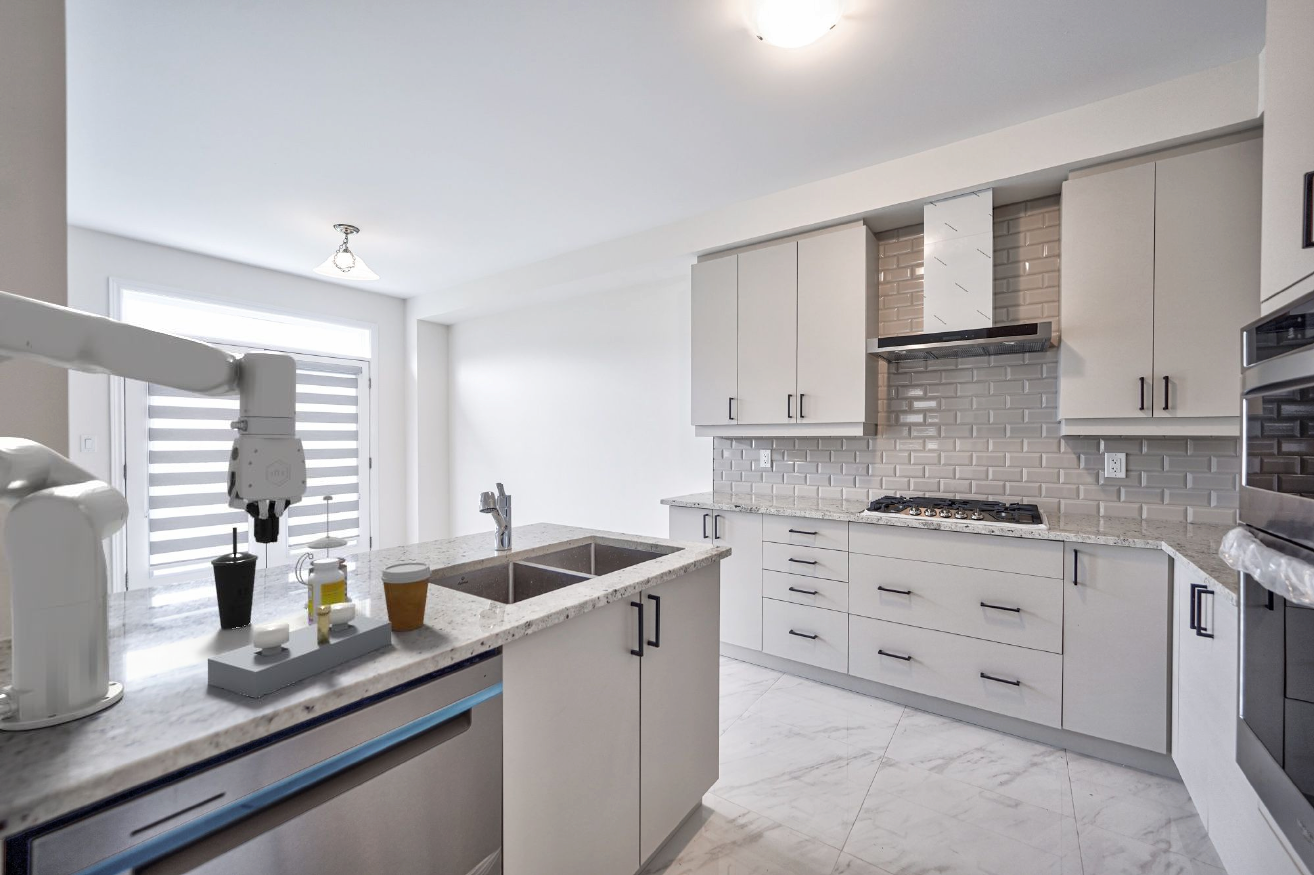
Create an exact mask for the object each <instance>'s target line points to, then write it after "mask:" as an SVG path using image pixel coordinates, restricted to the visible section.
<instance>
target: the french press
mask: <svg viewBox="0 0 1314 875" xmlns="http://www.w3.org/2000/svg"><path fill="white" fill-rule="evenodd" d="M322 500H323V501H326V506H327V508H326V510H327V512H326V515H327V517H326V518H327V519H326V520H327V521H326V522H327V523H326V526H327V528H326V530H327V533H326V534H327V535H326V536H325V537H321V538H318V539H315V540H312V541H311V542H310V543H308V545H307V548H308V549H311V550H323V549H324V550H325V549H327V550H326V551H327V556H326V557H325V558H323V559H326V558H329V549H335V548H340V547H344V546H347V544H348V542H349V541H348V540H346V539H343V538H341V537H340V538H339V537H338V536H330V535H329V501H333V496H332V495H331V494H326V495H324V496H323V498H322ZM305 555H306V556H305ZM304 556H305V557H304ZM310 556H311V557H310ZM303 557H304V559H303V560H302V561H301V563H300V560H301V559H302V558H303ZM307 558H308V559H309V560H313V559H314V554H313V553H309V552H306V553H304V554H303V555H301V556H300V558H299V559H297V562H296V565H295V569H294V571H295V572H294V573H295V577H296V579H297V582H298V583H300V584H301V585H304V586H307V587H308V583H306V581H305V582H304V579H303V578H302V566H303V563H304V561H305V560H306V559H307ZM336 558H337V559H339V567H338V570H340V571H342V572H343V573H344V575H345V603H349V602H350V603H353V602H352V601H353V598H351V597H350V596H349V595H348V565H347V564H344V563H345V562H346V558H344V557H336ZM320 559H321V558H318V559H314V560H313V561H310V562H309V565H311V566H312V567H310V568H308V576H307V577H308V578H309V576H310V575H311V574H313V573H314V571H315V569H314V568H313V562H314V561H316V560H320ZM299 563H300V567H299V570H298V569H297V568H298V564H299ZM298 571H299V577H298ZM308 578H307V579H308ZM303 606H305V608H304V609H306V608H308V600H307V601H306V602H305V603H304V605H303Z"/></svg>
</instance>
